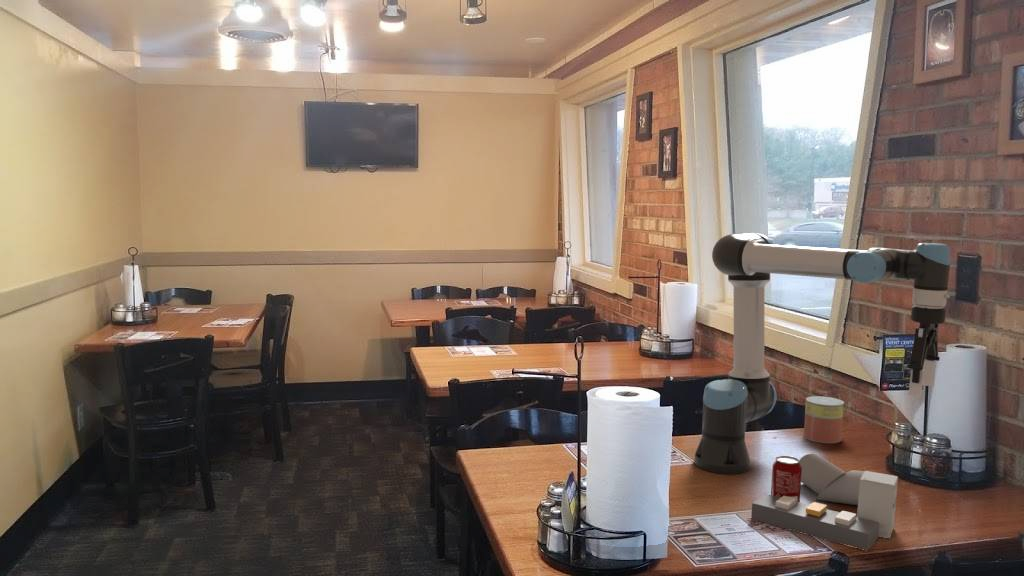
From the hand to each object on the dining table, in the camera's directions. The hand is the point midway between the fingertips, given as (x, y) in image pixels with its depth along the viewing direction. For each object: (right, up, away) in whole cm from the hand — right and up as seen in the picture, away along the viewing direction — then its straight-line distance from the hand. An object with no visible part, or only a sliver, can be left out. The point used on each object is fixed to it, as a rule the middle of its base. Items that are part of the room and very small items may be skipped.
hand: (921, 390), depth 203 cm
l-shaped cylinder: (-20, -28, +4) cm, 34 cm away
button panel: (-33, -30, -17) cm, 48 cm away
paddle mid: (-33, -26, -17) cm, 45 cm away
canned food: (-4, -22, +54) cm, 58 cm away
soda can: (-35, -28, -3) cm, 45 cm away
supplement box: (-19, -30, -17) cm, 39 cm away
